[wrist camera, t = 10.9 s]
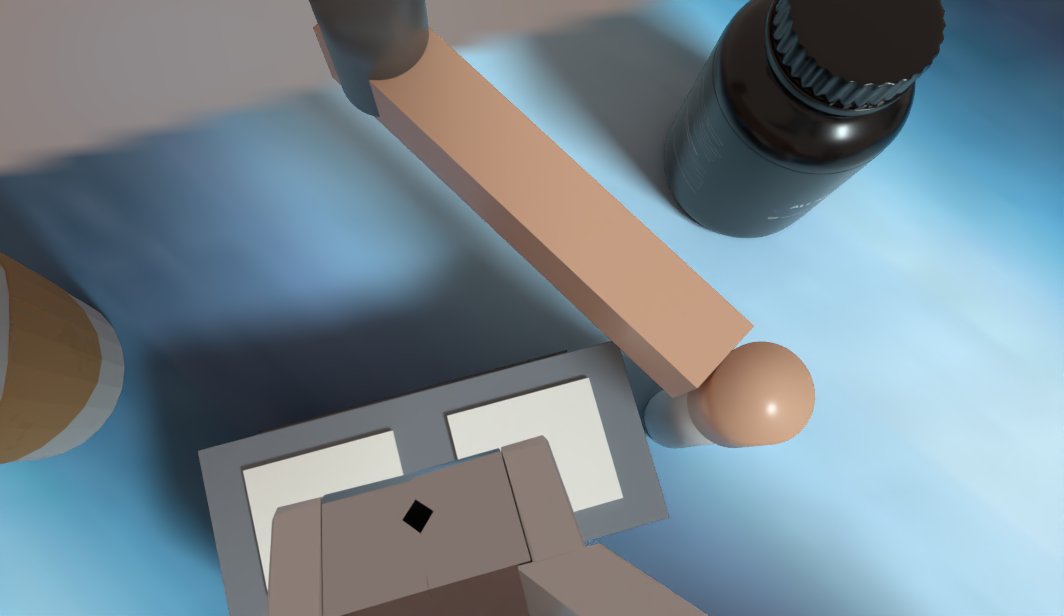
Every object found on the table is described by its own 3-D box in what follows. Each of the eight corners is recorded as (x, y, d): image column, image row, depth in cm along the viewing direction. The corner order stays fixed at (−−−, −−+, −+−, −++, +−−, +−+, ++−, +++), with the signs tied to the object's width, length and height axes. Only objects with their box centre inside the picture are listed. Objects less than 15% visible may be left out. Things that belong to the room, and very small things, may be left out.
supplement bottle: (788, 266, 34) (944, 160, 23) (638, 206, 34) (716, 70, 23) (836, 127, 36) (1007, -42, 24) (691, 70, 36) (791, -125, 24)
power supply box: (677, 333, 33) (731, 293, 26) (723, 483, 32) (794, 486, 25) (250, 447, 32) (176, 439, 24) (283, 610, 30) (218, 655, 23)
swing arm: (796, 398, 25) (950, 362, 17) (734, 469, 24) (861, 469, 16) (390, 22, 27) (346, -180, 18) (323, 80, 26) (246, -100, 18)
